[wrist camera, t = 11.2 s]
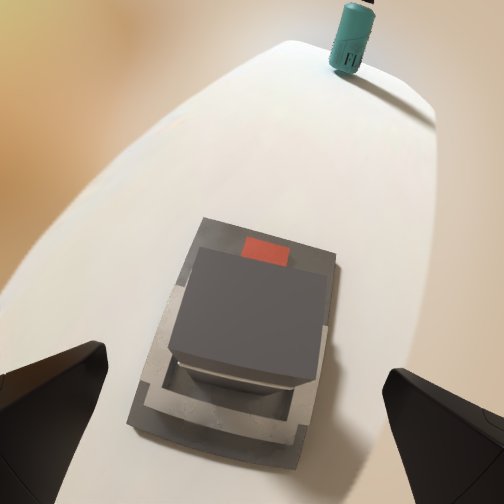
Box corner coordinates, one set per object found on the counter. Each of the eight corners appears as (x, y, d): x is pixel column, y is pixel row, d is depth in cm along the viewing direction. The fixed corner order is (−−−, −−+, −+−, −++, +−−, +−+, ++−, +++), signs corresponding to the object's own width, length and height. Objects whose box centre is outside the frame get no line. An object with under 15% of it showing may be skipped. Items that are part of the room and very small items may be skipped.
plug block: (265, 396, 18) (316, 381, 9) (192, 380, 18) (165, 348, 9) (275, 342, 20) (328, 275, 11) (206, 326, 20) (198, 245, 11)
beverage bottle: (337, 79, 47) (364, -9, 30) (319, 65, 50) (341, -16, 33) (361, 81, 49) (389, 0, 32) (343, 67, 52) (366, -9, 35)
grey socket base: (292, 467, 16) (303, 475, 14) (130, 423, 17) (117, 424, 14) (332, 259, 26) (344, 241, 23) (203, 223, 26) (203, 202, 24)
